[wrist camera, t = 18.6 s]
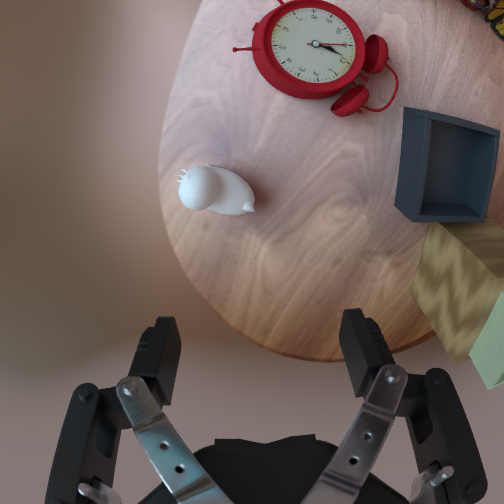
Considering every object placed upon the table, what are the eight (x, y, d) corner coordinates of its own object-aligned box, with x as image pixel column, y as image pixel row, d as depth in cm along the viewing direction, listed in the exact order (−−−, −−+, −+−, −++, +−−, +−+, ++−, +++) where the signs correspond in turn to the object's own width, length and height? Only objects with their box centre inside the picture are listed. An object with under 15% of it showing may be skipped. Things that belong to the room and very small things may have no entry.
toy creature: (193, 147, 28) (179, 161, 22) (264, 180, 30) (268, 201, 24) (176, 186, 30) (160, 209, 24) (244, 216, 32) (243, 244, 26)
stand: (430, 215, 32) (498, 279, 19) (489, 217, 32) (551, 269, 19) (410, 292, 38) (453, 365, 25) (467, 285, 38) (512, 344, 25)
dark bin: (403, 106, 25) (425, 110, 21) (476, 123, 25) (500, 130, 21) (394, 205, 31) (412, 222, 27) (463, 208, 31) (484, 223, 27)
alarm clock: (271, -29, 16) (431, 48, 16) (279, -3, 21) (410, 61, 22) (219, 63, 21) (383, 143, 21) (237, 74, 26) (369, 139, 26)
